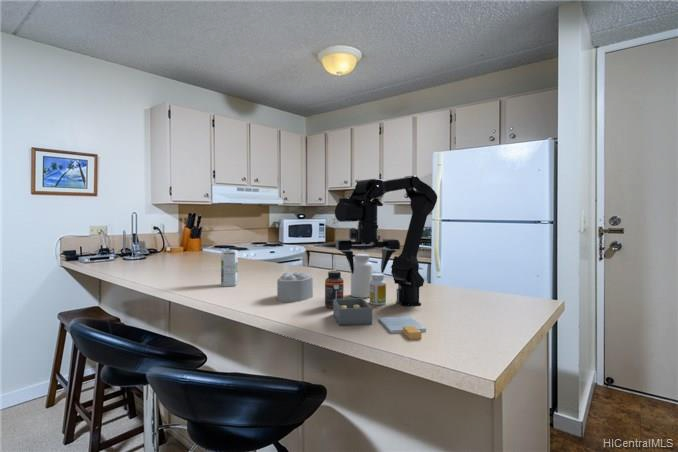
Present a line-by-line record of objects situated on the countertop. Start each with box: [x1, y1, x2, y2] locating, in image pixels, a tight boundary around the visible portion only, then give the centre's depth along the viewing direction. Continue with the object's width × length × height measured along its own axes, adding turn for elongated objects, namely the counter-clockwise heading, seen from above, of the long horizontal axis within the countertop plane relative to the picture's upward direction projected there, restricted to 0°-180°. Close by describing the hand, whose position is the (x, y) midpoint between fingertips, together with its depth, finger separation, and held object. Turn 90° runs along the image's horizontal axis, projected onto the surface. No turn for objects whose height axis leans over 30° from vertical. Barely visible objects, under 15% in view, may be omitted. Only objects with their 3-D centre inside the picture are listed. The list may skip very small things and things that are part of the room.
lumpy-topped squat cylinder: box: [276, 271, 314, 303], centre depth 126 cm, size 10×13×9 cm
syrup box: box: [220, 249, 239, 287], centre depth 147 cm, size 6×6×14 cm
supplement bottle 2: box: [369, 272, 387, 306], centre depth 119 cm, size 5×5×10 cm
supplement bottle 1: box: [324, 270, 344, 309], centre depth 114 cm, size 6×6×11 cm
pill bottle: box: [350, 253, 374, 299], centre depth 129 cm, size 8×8×15 cm
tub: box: [332, 297, 373, 327], centre depth 101 cm, size 9×11×4 cm
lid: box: [378, 315, 427, 340], centre depth 93 cm, size 9×16×2 cm, turn 9°
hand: (367, 272), depth 107 cm, fingers open, 9 cm apart
